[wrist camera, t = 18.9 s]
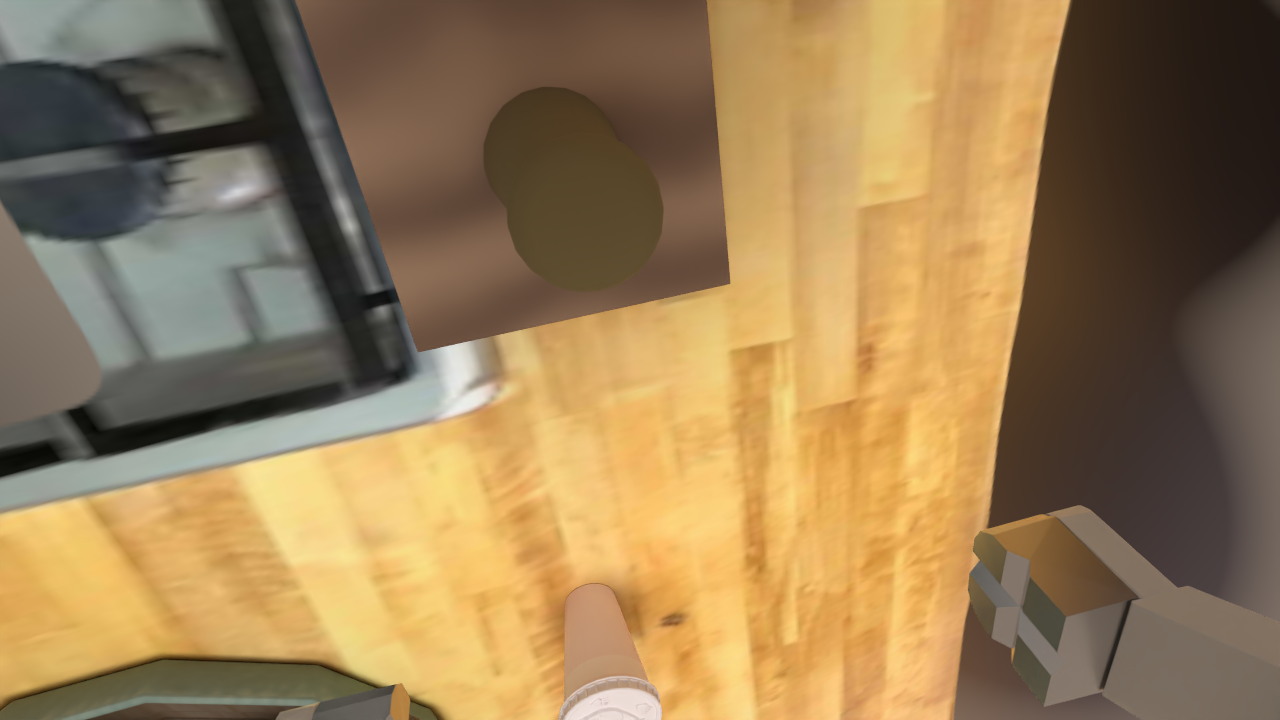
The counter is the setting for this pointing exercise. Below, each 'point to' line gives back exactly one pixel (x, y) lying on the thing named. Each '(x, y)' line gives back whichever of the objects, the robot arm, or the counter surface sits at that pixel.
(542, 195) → the brown tall round piece
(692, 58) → the block
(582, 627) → the smoothie
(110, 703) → the tea set
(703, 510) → the counter surface
